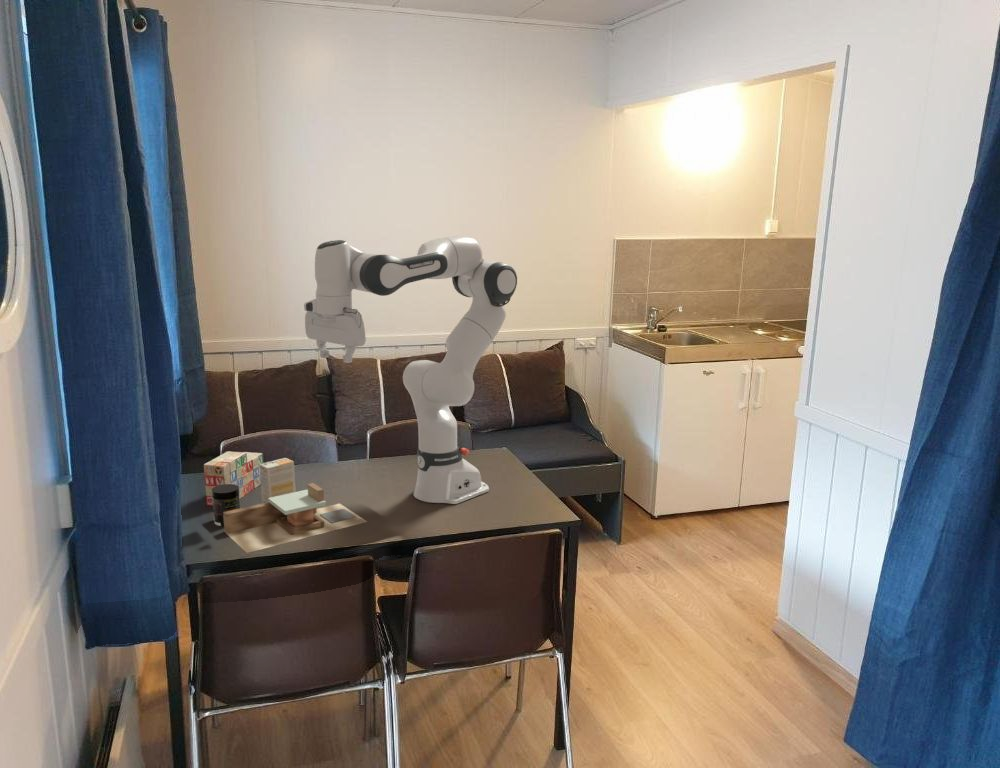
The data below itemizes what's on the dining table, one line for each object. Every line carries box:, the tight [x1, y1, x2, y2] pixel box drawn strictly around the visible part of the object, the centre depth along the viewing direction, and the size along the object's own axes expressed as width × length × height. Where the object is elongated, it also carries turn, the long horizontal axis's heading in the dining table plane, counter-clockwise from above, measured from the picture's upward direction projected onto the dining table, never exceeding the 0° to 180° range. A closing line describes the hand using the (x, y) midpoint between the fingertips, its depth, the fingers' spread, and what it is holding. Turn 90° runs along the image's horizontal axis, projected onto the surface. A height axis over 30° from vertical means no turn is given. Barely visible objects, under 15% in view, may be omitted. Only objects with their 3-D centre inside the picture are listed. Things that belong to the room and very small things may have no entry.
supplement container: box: [212, 484, 241, 527], centre depth 202 cm, size 7×7×10 cm
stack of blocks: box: [203, 450, 264, 507], centre depth 226 cm, size 21×6×12 cm, turn 167°
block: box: [287, 509, 314, 527], centre depth 200 cm, size 5×5×5 cm
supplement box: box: [259, 457, 297, 504], centre depth 215 cm, size 8×5×13 cm, turn 134°
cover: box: [268, 482, 327, 515], centre depth 200 cm, size 11×11×4 cm
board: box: [223, 502, 368, 554], centre depth 200 cm, size 32×16×7 cm, turn 128°
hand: (336, 359), depth 200 cm, fingers open, 8 cm apart
